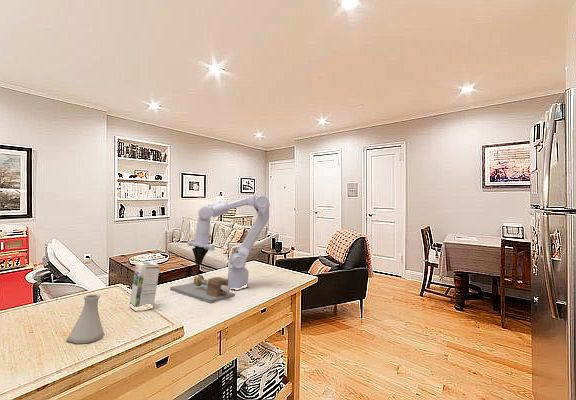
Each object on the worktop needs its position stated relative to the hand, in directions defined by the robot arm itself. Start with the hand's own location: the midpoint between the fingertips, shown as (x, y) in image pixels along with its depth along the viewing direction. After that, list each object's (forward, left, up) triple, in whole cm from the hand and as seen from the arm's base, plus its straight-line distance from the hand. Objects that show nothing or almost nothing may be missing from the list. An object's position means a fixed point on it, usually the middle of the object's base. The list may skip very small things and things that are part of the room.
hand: (198, 264), depth 125 cm
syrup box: (+32, +10, -10) cm, 35 cm away
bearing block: (+5, +17, -8) cm, 20 cm away
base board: (+5, +10, -9) cm, 14 cm away
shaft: (+5, +14, -7) cm, 17 cm away
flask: (+53, +20, -10) cm, 57 cm away
